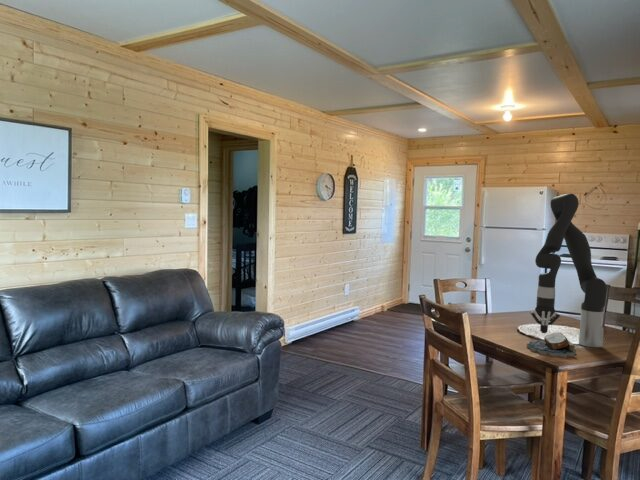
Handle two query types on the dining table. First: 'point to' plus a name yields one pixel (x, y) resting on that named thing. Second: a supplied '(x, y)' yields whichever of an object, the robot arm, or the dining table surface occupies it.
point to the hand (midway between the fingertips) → (543, 332)
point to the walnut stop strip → (570, 346)
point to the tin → (556, 340)
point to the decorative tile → (549, 349)
